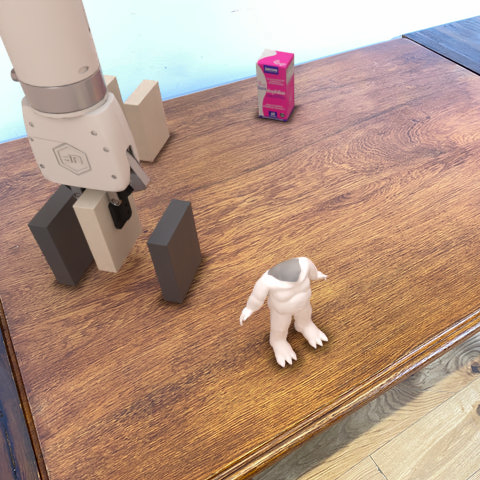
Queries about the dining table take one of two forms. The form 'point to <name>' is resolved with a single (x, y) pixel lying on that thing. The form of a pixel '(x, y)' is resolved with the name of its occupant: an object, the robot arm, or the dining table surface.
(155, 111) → the white book
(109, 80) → the white book
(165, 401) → the dining table surface
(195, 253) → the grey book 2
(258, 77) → the supplement box
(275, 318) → the toy creature
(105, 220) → the white book
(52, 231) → the dark grey block
